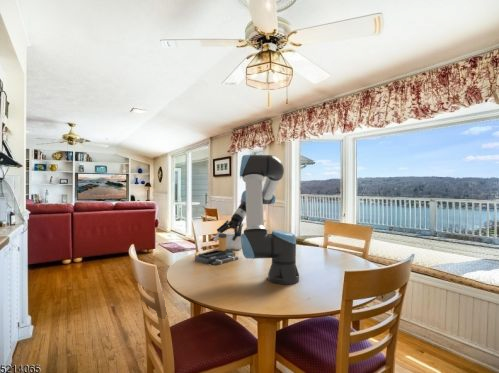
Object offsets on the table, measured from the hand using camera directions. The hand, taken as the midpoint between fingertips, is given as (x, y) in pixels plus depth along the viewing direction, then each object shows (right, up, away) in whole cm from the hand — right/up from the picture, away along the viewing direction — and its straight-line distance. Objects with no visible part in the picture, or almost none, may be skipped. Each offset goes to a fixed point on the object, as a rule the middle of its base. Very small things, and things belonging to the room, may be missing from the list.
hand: (221, 242), depth 176 cm
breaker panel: (-3, -9, -4) cm, 11 cm away
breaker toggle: (0, -6, 0) cm, 6 cm away
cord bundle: (+3, -9, -9) cm, 14 cm away
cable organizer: (+6, -9, +25) cm, 28 cm away
